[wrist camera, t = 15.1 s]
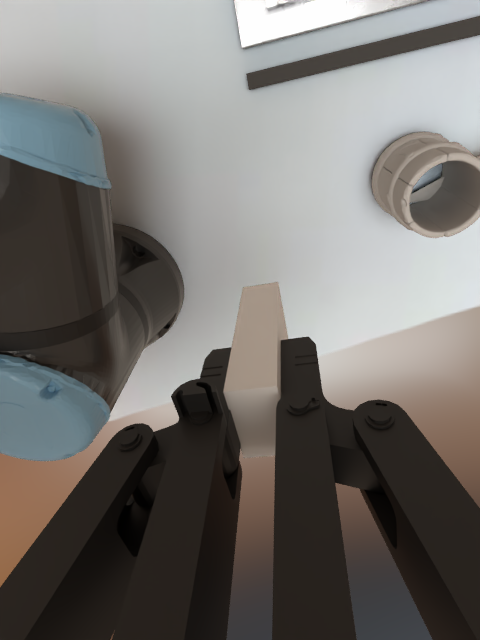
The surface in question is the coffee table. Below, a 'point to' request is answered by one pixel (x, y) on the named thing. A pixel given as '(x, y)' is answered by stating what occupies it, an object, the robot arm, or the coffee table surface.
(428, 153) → the mug
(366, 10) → the breaker panel
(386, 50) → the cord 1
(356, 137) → the coffee table surface
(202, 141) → the coffee table surface
